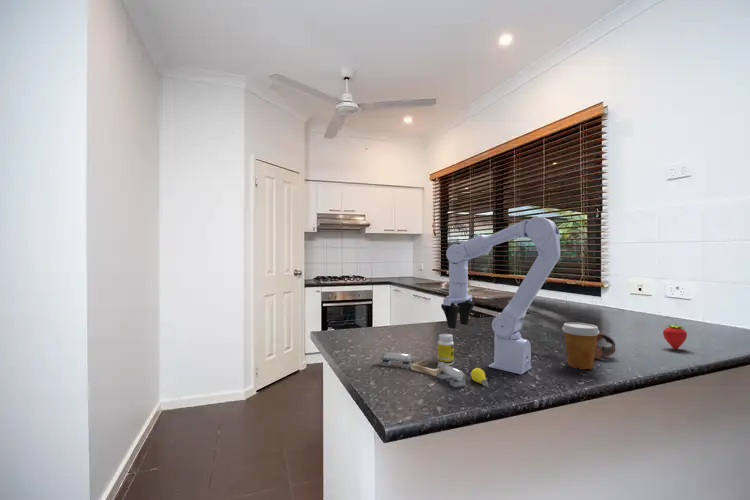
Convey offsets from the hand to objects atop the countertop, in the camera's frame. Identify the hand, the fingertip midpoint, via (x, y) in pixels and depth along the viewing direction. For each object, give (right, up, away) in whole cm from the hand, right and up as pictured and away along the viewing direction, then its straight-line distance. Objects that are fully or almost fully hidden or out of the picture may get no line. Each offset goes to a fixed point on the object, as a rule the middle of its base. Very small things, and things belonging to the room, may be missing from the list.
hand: (458, 326), depth 112 cm
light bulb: (+1, -10, -22) cm, 24 cm away
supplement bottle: (-5, -10, -6) cm, 13 cm away
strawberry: (+79, -11, +12) cm, 80 cm away
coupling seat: (-10, -10, -11) cm, 18 cm away
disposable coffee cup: (+34, -10, -8) cm, 36 cm away
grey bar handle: (-20, -10, -8) cm, 24 cm away
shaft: (-7, -10, -21) cm, 24 cm away
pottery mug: (+45, -11, +4) cm, 47 cm away
